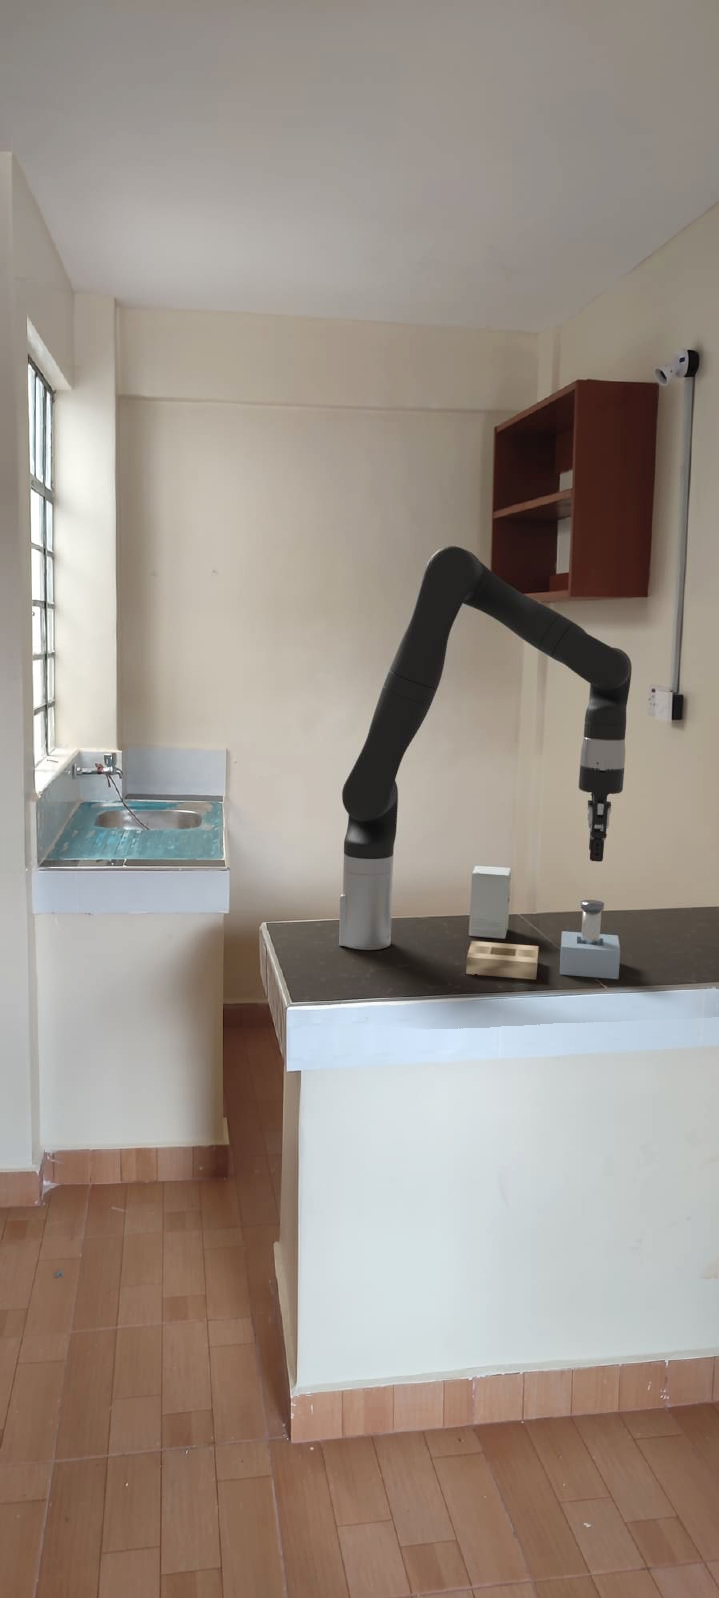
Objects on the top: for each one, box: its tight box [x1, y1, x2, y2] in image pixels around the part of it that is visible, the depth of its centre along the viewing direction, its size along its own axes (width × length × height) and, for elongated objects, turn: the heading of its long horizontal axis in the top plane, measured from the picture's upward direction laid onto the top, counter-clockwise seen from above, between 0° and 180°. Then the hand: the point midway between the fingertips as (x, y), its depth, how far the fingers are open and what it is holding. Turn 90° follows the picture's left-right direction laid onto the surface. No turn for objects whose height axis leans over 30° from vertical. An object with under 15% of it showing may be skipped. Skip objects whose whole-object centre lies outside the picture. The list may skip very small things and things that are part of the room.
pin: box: [580, 899, 605, 945], centre depth 201 cm, size 4×4×12 cm
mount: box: [465, 940, 539, 981], centre depth 201 cm, size 12×10×3 cm
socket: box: [559, 930, 621, 980], centre depth 202 cm, size 10×10×5 cm
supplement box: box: [468, 865, 512, 940], centre depth 222 cm, size 7×7×13 cm
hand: (595, 855), depth 199 cm, fingers open, 8 cm apart
